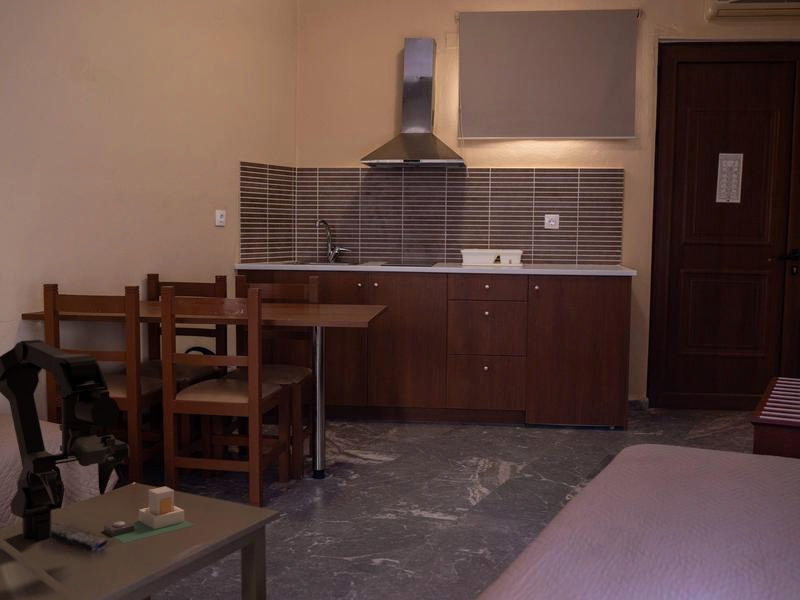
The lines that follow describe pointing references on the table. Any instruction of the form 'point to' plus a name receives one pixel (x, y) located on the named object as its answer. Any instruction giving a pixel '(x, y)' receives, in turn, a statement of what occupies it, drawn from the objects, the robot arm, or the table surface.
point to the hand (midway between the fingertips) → (78, 499)
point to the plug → (161, 501)
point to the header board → (154, 525)
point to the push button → (119, 528)
